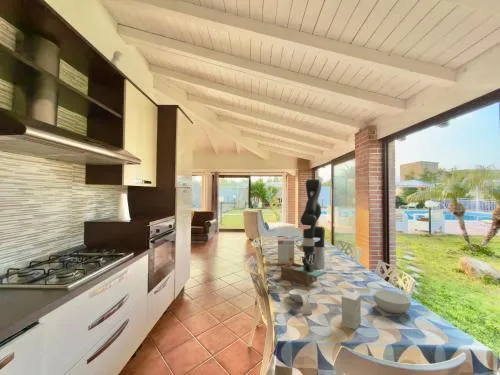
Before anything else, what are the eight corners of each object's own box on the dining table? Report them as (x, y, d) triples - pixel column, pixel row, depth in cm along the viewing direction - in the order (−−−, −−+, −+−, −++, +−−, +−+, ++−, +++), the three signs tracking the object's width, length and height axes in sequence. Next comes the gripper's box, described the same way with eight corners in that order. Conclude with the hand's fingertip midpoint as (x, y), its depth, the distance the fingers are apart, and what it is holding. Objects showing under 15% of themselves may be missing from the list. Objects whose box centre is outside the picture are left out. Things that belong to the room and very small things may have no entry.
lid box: (292, 273, 178) (292, 262, 179) (316, 281, 164) (316, 268, 164) (281, 278, 169) (281, 266, 169) (305, 286, 154) (305, 273, 154)
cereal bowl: (411, 321, 113) (411, 306, 113) (372, 312, 121) (372, 298, 122) (410, 307, 127) (409, 293, 127) (375, 299, 136) (374, 287, 136)
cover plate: (301, 267, 171) (301, 259, 171) (324, 273, 158) (324, 264, 158) (293, 270, 164) (293, 262, 164) (316, 277, 151) (316, 268, 151)
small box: (347, 317, 115) (347, 290, 116) (361, 322, 111) (361, 294, 112) (341, 324, 109) (341, 296, 110) (355, 330, 105) (355, 300, 106)
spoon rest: (286, 295, 141) (287, 283, 142) (306, 295, 142) (306, 282, 142) (296, 315, 118) (296, 301, 118) (319, 315, 118) (319, 300, 118)
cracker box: (293, 263, 206) (294, 239, 207) (294, 265, 200) (294, 240, 201) (277, 262, 207) (277, 238, 208) (277, 264, 201) (277, 239, 202)
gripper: (309, 242, 169) (309, 266, 168) (298, 245, 159) (297, 271, 159) (319, 243, 163) (318, 269, 163) (307, 246, 154) (307, 273, 153)
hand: (308, 270), depth 161 cm, fingers closed on cover plate, 3 cm apart
